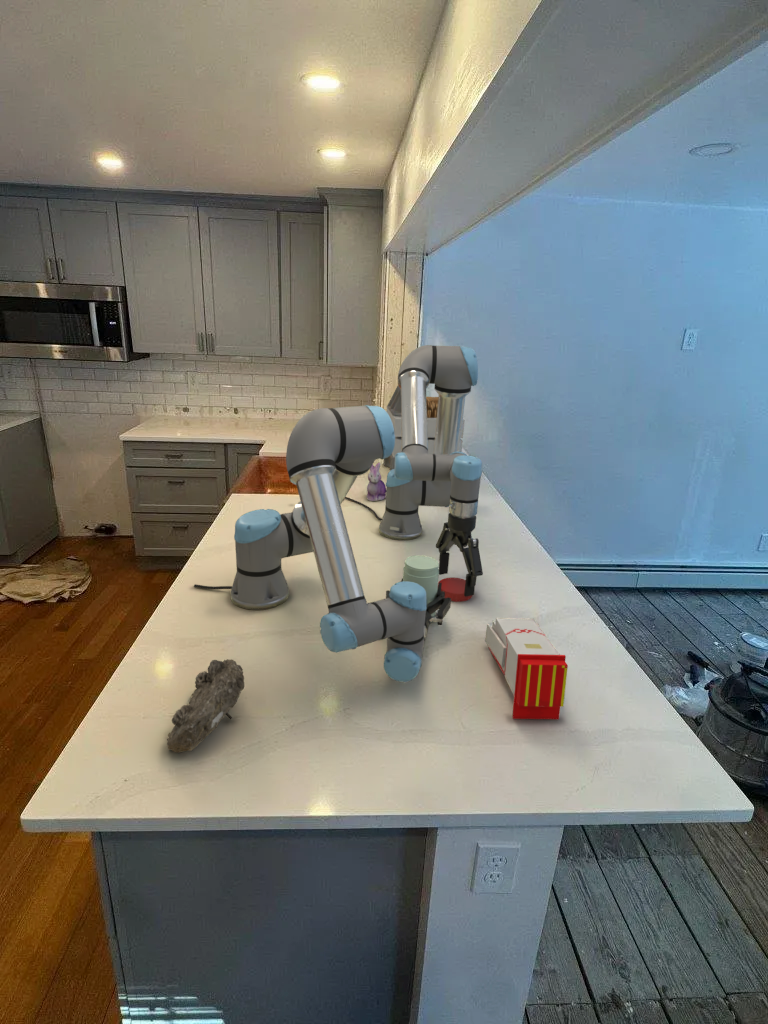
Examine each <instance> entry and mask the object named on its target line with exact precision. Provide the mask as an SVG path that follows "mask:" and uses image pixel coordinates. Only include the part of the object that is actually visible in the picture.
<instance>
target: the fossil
mask: <svg viewBox="0 0 768 1024" xmlns="http://www.w3.org/2000/svg"><path fill="white" fill-rule="evenodd" d="M243 670H244V669H243V667H242V665H240V664H237V662H236V661H235V660H234V659H232V658H231V659H227V658H226V659H224V660H223V661H222V660H217V659H212V660H211V661H210V663H209V665H208V666H207V671H201V672H199V673H198V674H197V675H196V676H195V680H194V684H195V685H194V687H195V689H194V690H193V693H192V694H191V697H190V698H189V700H188V704H184V705H182V706H181V707H180V709H177V710H176V711H175V713H174V715H173V716H172V718H171V723H172V724H173V727H172V730H171V731H170V732H168V734H167V738H166V741H167V742H166V745H167V749H168V750H169V751H173V752H174V753H176V754H178V753H182V752H188V751H189V752H192V751H193V750H195V748H196V747H197V746H199V744H200V743H201V742H203V741H204V740H205V739H206V738H207V737H208V736H209V735H210V734H211V733H212V732H214V730H215V729H217V727H218V726H219V724H220V722H221V721H222V720H223V719H224V718H225V716H226V717H227V719H229V720H233V717H232V715H230V714H229V710H230V709H231V708H234V706H235V704H236V703H237V702H238V699H239V697H240V695H241V693H242V691H243V690H245V689H244V688H245V675H244V671H243Z"/></svg>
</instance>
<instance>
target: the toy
mask: <svg viewBox="0 0 768 1024" xmlns="http://www.w3.org/2000/svg"><path fill="white" fill-rule="evenodd" d="M484 642H485V643H486V645H487V646H488V650H489V651H490V654H491V655H492V657H493V659H494V660H495V662H496V664H497V666H498V667H499V669H500V671H501V672H502V675H503V676H504V678H505V680H506V682H507V684H508V686H509V688H510V691H511V693H512V694H513V704H512V705H513V706H512V715H511V717H512V719H513V720H560V714H561V708H563V707H564V704H565V695H566V685H567V677H568V668H569V666H568V663H567V662H566V657H567V656H566V654H560V653H559V651H558V650H557V648H556V647H555V646H554V645H553V643H552V642H551V640H550V639H549V638H548V636H547V635H546V634H545V632H544V631H543V629H542V628H541V627H540V625H539V623H537V621H536V620H535V619H534V618H523V617H522V618H521V617H520V618H519V617H516V618H515V617H496V618H495V620H492V622H491V624H490V623H486V629H485V637H484Z"/></svg>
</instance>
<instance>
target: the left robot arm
mask: <svg viewBox="0 0 768 1024" xmlns="http://www.w3.org/2000/svg"><path fill="white" fill-rule="evenodd" d="M394 445H395V434H394V427H393V424H392V421H391V418H390V416H389V415H388V413H387V410H386V409H384V408H383V407H381V406H379V405H369V404H365V405H355V406H343V407H342V406H341V407H320V408H315V409H313V410H311V411H309V412H307V413H306V414H304V415H303V416H302V417H300V418H299V420H298V421H297V422H296V424H295V425H294V427H293V429H292V430H291V433H290V435H289V437H288V441H287V446H286V454H285V462H286V463H285V464H286V471H287V474H288V478H289V482H290V483H292V484H293V485H295V486H296V489H297V492H298V497H299V500H300V501H299V502H298V503H296V504H295V505H294V507H293V509H292V512H291V511H290V512H287V513H286V512H285V513H280V512H279V511H278V510H276V509H273V508H266V509H265V508H260V509H259V508H258V509H255V510H251V511H248V512H246V513H244V514H242V515H241V516H239V517H238V518H237V520H236V521H235V523H234V536H233V539H234V544H235V562H236V563H235V564H236V573H235V575H234V579H233V583H232V585H221V586H220V585H219V586H212V585H211V586H210V585H203V584H196V583H195V584H194V585H193V587H194V588H198V589H203V590H204V589H205V590H230V600H231V602H232V603H233V605H235V606H237V607H239V608H241V609H246V610H251V611H252V610H253V611H254V610H255V611H258V610H259V611H260V610H268V609H272V608H276V607H277V606H280V605H282V604H284V603H285V602H286V601H287V600H288V599H289V596H290V589H289V588H290V587H289V583H288V580H287V578H286V577H285V574H284V571H283V570H282V559H286V558H290V557H295V556H301V555H305V554H310V553H313V555H314V559H315V562H316V567H317V570H318V573H319V574H318V575H319V579H320V582H321V587H322V589H323V593H324V598H325V602H326V605H327V610H328V612H327V613H326V614H324V615H323V616H322V617H320V622H319V628H320V630H319V633H320V636H321V639H322V642H323V644H324V646H325V647H326V649H328V650H329V651H330V652H332V653H336V654H337V653H341V652H345V651H349V650H355V649H357V648H359V647H362V646H365V645H368V644H372V643H375V642H378V641H381V640H382V641H383V640H385V639H386V652H385V653H384V657H383V669H384V672H385V673H386V675H387V676H388V677H389V678H390V679H391V680H393V681H396V682H399V683H407V682H410V681H413V680H414V679H415V678H417V676H418V675H419V673H420V669H421V668H422V662H423V661H422V660H423V656H424V649H425V645H426V640H427V635H428V630H429V625H430V624H432V623H436V624H437V626H443V623H444V622H443V621H444V618H445V617H446V615H447V614H448V612H449V610H450V609H451V606H452V601H451V598H449V597H448V598H445V592H444V591H441V586H442V583H439V585H438V590H437V598H436V599H434V600H433V601H431V602H430V603H429V604H427V598H426V591H425V589H424V588H423V587H422V586H420V585H419V584H417V583H414V582H408V581H403V577H402V578H401V581H398V582H395V583H394V584H393V585H391V586H390V588H389V590H386V591H385V598H381V599H379V600H376V601H375V600H374V601H372V602H367V599H366V596H365V593H364V589H363V585H362V582H361V577H360V574H359V569H358V566H357V562H356V559H355V554H354V550H353V547H352V542H351V539H350V536H349V532H348V531H349V530H348V528H347V524H346V519H345V516H344V513H343V508H342V506H341V505H342V503H343V502H344V500H345V497H347V495H348V494H349V492H350V490H351V488H352V487H353V485H354V483H355V482H356V480H357V478H358V477H359V476H362V475H364V474H366V473H367V472H368V471H370V468H371V466H372V464H373V465H374V463H375V461H376V460H384V458H387V457H389V456H390V455H391V454H392V452H393V450H394ZM435 611H436V614H435V615H434V616H431V614H433V613H434V612H435ZM431 622H432V623H431Z"/></svg>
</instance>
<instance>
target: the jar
mask: <svg viewBox="0 0 768 1024" xmlns="http://www.w3.org/2000/svg"><path fill="white" fill-rule="evenodd" d="M439 576H440V575H439V560H437V559H436V558H434V557H432V556H429V555H422V554H415V555H411V556H408V557H406V558H405V560H404V566H403V572H402V578H403V581H408V582H414V583H417V584H419V585H420V586H422V587H423V588H424V589H425V591H426V598H427V604H429V603H430V602H431V601H433V600H434V599H436V598H437V590H438V582H439V578H440V577H439ZM436 612H437V611H435V612H434V613H433V614H431V616H434V615H435V614H436ZM432 623H433V622H431V623H430V624H432Z"/></svg>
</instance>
